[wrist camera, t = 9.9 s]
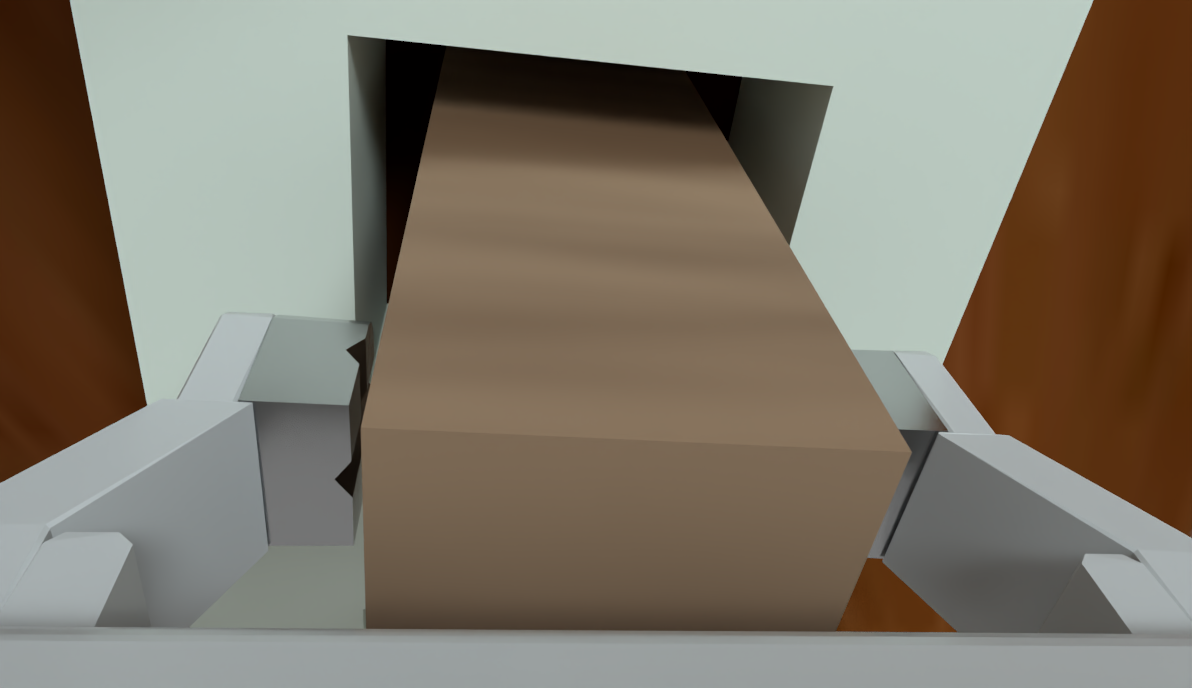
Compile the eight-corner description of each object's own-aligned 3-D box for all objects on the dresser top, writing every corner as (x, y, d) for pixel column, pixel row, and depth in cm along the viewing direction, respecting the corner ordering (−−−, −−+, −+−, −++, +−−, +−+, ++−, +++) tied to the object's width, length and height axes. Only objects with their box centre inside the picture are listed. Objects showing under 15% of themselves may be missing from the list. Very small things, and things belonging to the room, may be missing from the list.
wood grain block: (447, 43, 14) (361, 427, 6) (683, 69, 15) (911, 451, 6) (439, 258, 16) (369, 763, 8) (646, 273, 17) (781, 758, 9)
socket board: (162, -210, 12) (30, -205, 9) (965, -96, 14) (1115, -56, 10) (271, 690, 23) (232, 847, 19) (714, 689, 24) (748, 833, 21)
